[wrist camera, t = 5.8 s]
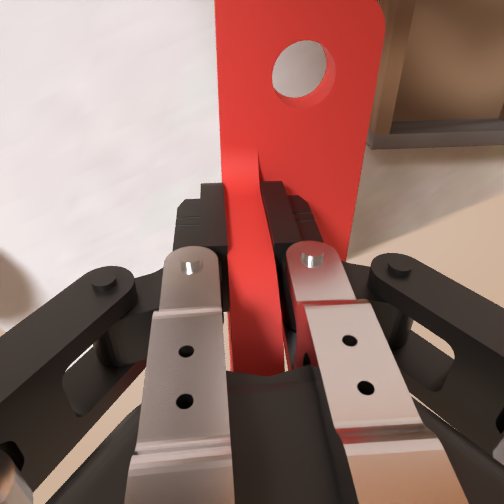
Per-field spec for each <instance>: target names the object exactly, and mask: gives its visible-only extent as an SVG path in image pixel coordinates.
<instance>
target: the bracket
mask: <svg viewBox="0 0 504 504" xmlns="http://www.w3.org/2000/svg"><path fill="white" fill-rule="evenodd" d="M214 2H215V26H216V51H217V75H218V99H219V123H220V147H221V171H222V183H223V186H224V200H225V214H226V228H227V243H228V254H227V261H228V287H229V312H227V314H228V330H229V348H230V365H231V371H232V372H239V373H246V374H252V375H259V376H273V375H276V374H280V373H283V372H285V369H284V347H283V332H282V312H281V308H280V297H279V288H278V280H277V272H276V265H275V258H274V252H273V247H272V242H271V237H270V232H269V228H268V224H267V219H266V215H265V210H264V206H263V201H262V197H261V192H260V184H259V182H260V181H282V182H283V185H284V188H285V191H286V194H287V195H299V196H300V197H302V198H303V199H304V200H305V201H307V202H308V204H309V206H310V209H311V211H312V214H313V216H314V219H315V221H316V224H317V226H318V229H319V231H320V234H321V236H322V239H323V241H324V243H325V244H327V245H329V246H331V247H332V248H334V249H335V250H336V251H337V253H338V255H339V257H340V260H341V261H344V262H346V256H347V250H348V245H349V239H350V233H351V227H352V222H353V216H354V210H355V204H356V198H357V193H358V187H359V181H360V175H361V169H362V164H363V158H364V152H365V146H366V141H367V135H368V129H369V123H370V117H371V112H372V106H373V100H374V94H375V89H376V83H377V77H378V71H379V65H380V60H381V54H382V48H383V42H384V36H385V19H384V15H383V11H382V9H381V7H380V5H379V3H378V2H377V0H214ZM303 40H311V41H316V42H318V43H320V44H321V46H322V47H323V49H324V52H325V55H326V71H325V75H324V77H323V79H322V81H321V83H320V84H319V86H318V87H317V88H316V89H315V90H314V91H313V92H311V93H310V94H308V95H306V96H303V97H299V98H290V97H286V96H283V95H282V94H280V93H278V92H277V91H276V90H275V89H274V88H273V84H272V71H273V67H274V64H275V62H276V60H277V58H278V56H279V55H280V54H281V52H282V51H283V50H284V49H285V48H287V47H288V46H289V45H291V44H293V43H295V42H298V41H303Z"/></svg>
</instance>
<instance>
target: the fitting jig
mask: <svg viewBox="0 0 504 504" xmlns="http://www.w3.org/2000/svg"><path fill="white" fill-rule="evenodd" d="M379 5H380V7H381V9H382V11H383V15H384V19H385V36H384V42H383V48H382V54H381V60H380V65H379V71H378V77H377V83H376V89H375V94H374V100H373V106H372V112H371V117H370V123H369V129H368V135H367V141H366V143H367V144H368V145H369V147H370V148H371V149H400V148H427V147H455V146H482V145H504V0H379Z"/></svg>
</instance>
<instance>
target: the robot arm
mask: <svg viewBox="0 0 504 504" xmlns="http://www.w3.org/2000/svg"><path fill="white" fill-rule="evenodd" d="M259 184H260V192H261V197H262V201H263V206H264V210H265V215H266V219H267V224H268V228H269V232H270V237H271V242H272V247H273V252H274V258H275V265H276V272H277V280H278V288H279V297H280V308H281V312H282V332H283V342H284V348H285V354H286V360H287V365H288V371H287V372H283V373H280V374H276V375H273V376H259V375H252V374H246V373H239V372H232V371H226V367H225V353H224V337H223V323H224V313H223V312H229V287H228V261H227V254H228V243H227V228H226V214H225V200H224V186H223V183H203V184H201V197H200V199H185V200H184V201H183V202H182V203H181V205H180V206H179V207H178V208H177V219H176V227H175V235H174V243H173V252H171V253H170V254H169V255H168V256H167V257H166V259H165V261H164V267H163V268H162V269H160V270H158V271H156V272H154V273H151V274H148V275H145V276H141V277H137V278H134V276H133V274H132V273H131V272H130V271H129V270H127V269H125V268H122V267H118V266H106V267H101V268H97V269H94V270H92V271H90V272H88V273H86V274H85V275H83V276H82V277H81V278H79V279H78V280H76V281H75V282H74V283H72V284H71V285H70V286H68V287H67V288H66V289H64V290H63V291H62V292H60V293H59V294H58V295H56V296H55V297H54V298H52V299H51V300H49V301H48V302H47V303H45V304H44V305H43V306H41V307H40V308H39V309H37V310H36V311H35V312H33V313H32V314H31V315H29V316H28V317H27V318H25V319H24V320H22V321H21V322H20V323H18V324H17V325H16V326H14V327H13V328H12V329H10V330H9V331H8V332H6V333H5V334H4V335H2V336H1V337H0V504H33V492H34V491H35V489H37V488H38V487H39V485H40V484H41V483H42V482H43V481H44V480H45V479H46V478H47V476H48V475H49V474H50V473H51V472H52V471H53V470H54V469H55V467H57V465H58V464H59V463H60V462H61V461H62V460H63V459H64V457H65V456H66V455H67V454H68V453H69V452H70V451H71V450H72V449H73V448H74V447H75V445H76V444H77V443H78V442H79V441H80V440H81V439H82V438H83V436H84V435H85V434H86V433H87V432H88V431H89V430H90V429H91V428H92V426H93V425H94V424H95V423H96V422H97V421H98V420H99V419H100V418H101V416H102V415H103V414H104V413H105V412H106V411H107V410H108V409H109V408H110V407H111V405H112V404H113V403H114V402H115V401H116V400H117V399H118V398H119V396H120V395H121V394H122V393H123V392H124V391H125V390H126V389H127V388H128V387H129V385H130V384H131V383H132V382H133V381H134V380H135V379H136V378H137V377H138V375H139V374H140V373H141V372H142V371H143V370H144V369H145V367H146V372H145V380H144V388H143V397H142V404H140V405H139V406H138V407H136V408H135V409H134V410H133V411H132V412H131V413H129V415H127V417H125V419H123V421H122V422H121V423H120V424H119V425H118V426H117V427H116V428H115V429H114V430H113V431H112V433H110V434H109V436H108V437H107V438H106V439H105V440H104V441H103V442H102V443H101V444H100V445H99V447H98V448H97V449H96V450H95V451H94V452H93V453H92V454H91V455H90V456H89V457H88V458H87V459H86V460H85V462H84V463H83V464H82V465H81V466H80V467H79V468H78V469H77V470H76V471H75V472H74V473H73V474H72V475H71V476H70V478H69V479H68V480H67V481H66V482H65V483H64V484H63V485H62V486H61V487H60V488H59V489H58V491H57V492H56V493H55V494H54V495H53V496H52V497H51V498H50V499H49V500H48V501H47V502H46V503H45V504H504V308H502V307H500V306H499V305H497V304H495V303H493V302H491V301H490V300H488V299H486V298H484V297H482V296H481V295H479V294H477V293H475V292H473V291H471V290H470V289H468V288H466V287H464V286H463V285H461V284H459V283H457V282H455V281H454V280H452V279H450V278H448V277H446V276H445V275H443V274H441V273H439V272H437V271H436V270H434V269H432V268H430V267H428V266H427V265H425V264H423V263H421V262H419V261H418V260H416V259H414V258H412V257H409V256H407V255H403V254H398V253H386V254H382V255H379V256H377V257H376V258H374V259H373V260H372V263H371V267H368V266H362V265H356V264H350V263H347V262H344V261H341V260H340V257H339V255H338V253H337V251H336V250H335V249H334V248H332V247H331V246H329V245H327V244H325V243H324V241H323V239H322V236H321V234H320V231H319V229H318V226H317V224H316V221H315V219H314V216H313V214H312V211H311V209H310V206H309V204H308V202H307V201H305V200H304V199H303V198H302V197H300V196H299V195H287V194H286V191H285V188H284V185H283V182H282V181H260V182H259ZM413 320H415V321H416V322H418V323H419V324H421V325H422V326H424V327H425V328H427V329H429V330H430V331H431V332H433V333H434V334H436V335H437V336H439V337H440V338H442V339H443V340H445V341H446V342H447V343H448V344H449V345H450V346H451V347H452V349H453V351H454V355H455V359H452V358H451V357H450V356H448V355H447V354H445V353H444V352H442V351H441V350H439V349H438V348H436V347H435V346H433V345H432V344H431V343H429V342H428V341H426V340H425V339H423V338H422V337H420V336H419V335H418V334H416V333H414V332H413V331H412V330H410V329H411V326H412V323H413ZM92 344H93V347H92V348H91V349H90V350H89V351H88V352H87V353H86V354H85V355H83V356H82V357H81V358H80V359H79V360H78V361H77V362H76V363H75V364H74V365H73V366H72V367H70V368H69V369H68V370H67V371H66V369H67V368H68V367H69V365H70V364H71V363H72V362H73V361H75V360H76V359H77V358H78V357H79V356H80V355H81V354H82V353H83V352H84V351H85V350H87V349H88V348H89V347H90V346H91V345H92ZM65 371H66V372H65ZM409 392H410V393H411V394H413V395H414V396H415V397H416V398H418V399H419V400H420V401H421V402H423V403H424V404H425V405H426V406H428V407H429V408H430V409H431V410H433V411H434V412H435V413H436V414H438V415H439V416H440V417H441V418H443V419H444V420H445V421H446V422H447V423H446V422H445V421H443V420H442V419H441V418H440V417H438V416H437V415H436V414H434V413H433V412H431V411H430V410H429V409H427V408H426V407H425V406H423V405H422V404H421V403H419V402H418V401H417V400H415V399H414V398H413V397H411V395H410V393H409ZM448 423H449V424H450V425H451V426H450V425H449V424H448ZM453 427H454V428H455V429H454V428H453ZM458 431H459V432H458Z"/></svg>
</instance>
